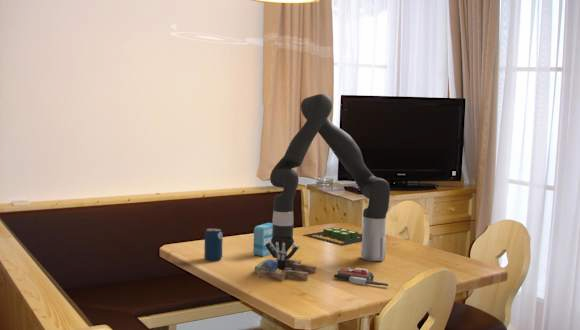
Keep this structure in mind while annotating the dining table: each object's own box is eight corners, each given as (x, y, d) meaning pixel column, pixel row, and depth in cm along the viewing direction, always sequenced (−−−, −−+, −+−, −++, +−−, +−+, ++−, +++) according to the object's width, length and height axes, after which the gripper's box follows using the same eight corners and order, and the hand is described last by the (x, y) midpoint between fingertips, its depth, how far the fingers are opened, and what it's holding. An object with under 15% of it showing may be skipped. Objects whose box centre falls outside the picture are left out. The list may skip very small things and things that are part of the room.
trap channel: (319, 269, 224) (319, 262, 224) (302, 284, 205) (303, 276, 205) (270, 263, 231) (270, 256, 230) (249, 276, 212) (249, 269, 212)
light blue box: (262, 257, 239) (263, 228, 238) (253, 255, 241) (253, 226, 240) (278, 251, 249) (279, 223, 248) (269, 250, 251) (270, 222, 250)
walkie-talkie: (331, 281, 211) (387, 289, 203) (332, 269, 210) (387, 277, 203) (339, 275, 219) (393, 283, 211) (340, 263, 218) (393, 271, 211)
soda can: (225, 259, 233) (226, 229, 232) (212, 262, 228) (212, 232, 227) (214, 256, 238) (214, 226, 237) (200, 259, 233) (201, 229, 232)
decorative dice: (262, 271, 219) (262, 260, 219) (269, 269, 222) (270, 258, 222) (270, 273, 217) (270, 262, 216) (277, 271, 220) (278, 260, 219)
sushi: (302, 236, 281) (302, 229, 281) (338, 230, 298) (338, 223, 298) (341, 247, 263) (342, 239, 263) (377, 239, 280) (378, 232, 280)
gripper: (303, 223, 218) (302, 269, 219) (269, 219, 222) (268, 265, 224) (296, 226, 211) (295, 274, 212) (262, 223, 215) (261, 270, 217)
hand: (281, 269), depth 218 cm, fingers closed
